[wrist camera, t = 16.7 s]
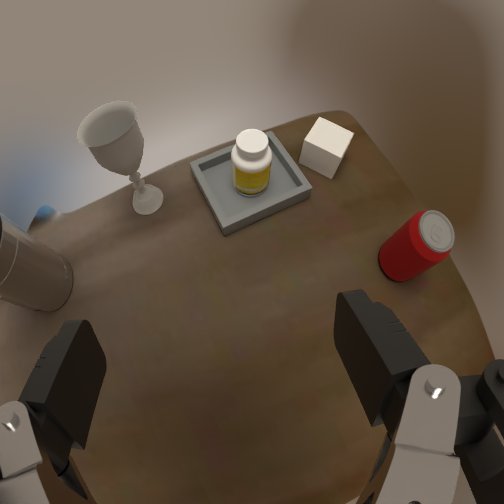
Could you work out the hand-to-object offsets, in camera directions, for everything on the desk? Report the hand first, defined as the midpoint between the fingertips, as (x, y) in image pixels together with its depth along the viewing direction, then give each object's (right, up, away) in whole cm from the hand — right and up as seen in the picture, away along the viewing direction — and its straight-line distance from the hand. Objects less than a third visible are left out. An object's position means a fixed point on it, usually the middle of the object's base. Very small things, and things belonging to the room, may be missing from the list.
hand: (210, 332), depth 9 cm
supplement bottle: (+1, +13, +36) cm, 38 cm away
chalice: (-15, +10, +36) cm, 40 cm away
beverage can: (+23, +1, +34) cm, 41 cm away
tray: (+1, +13, +37) cm, 39 cm away
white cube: (+13, +18, +39) cm, 45 cm away
